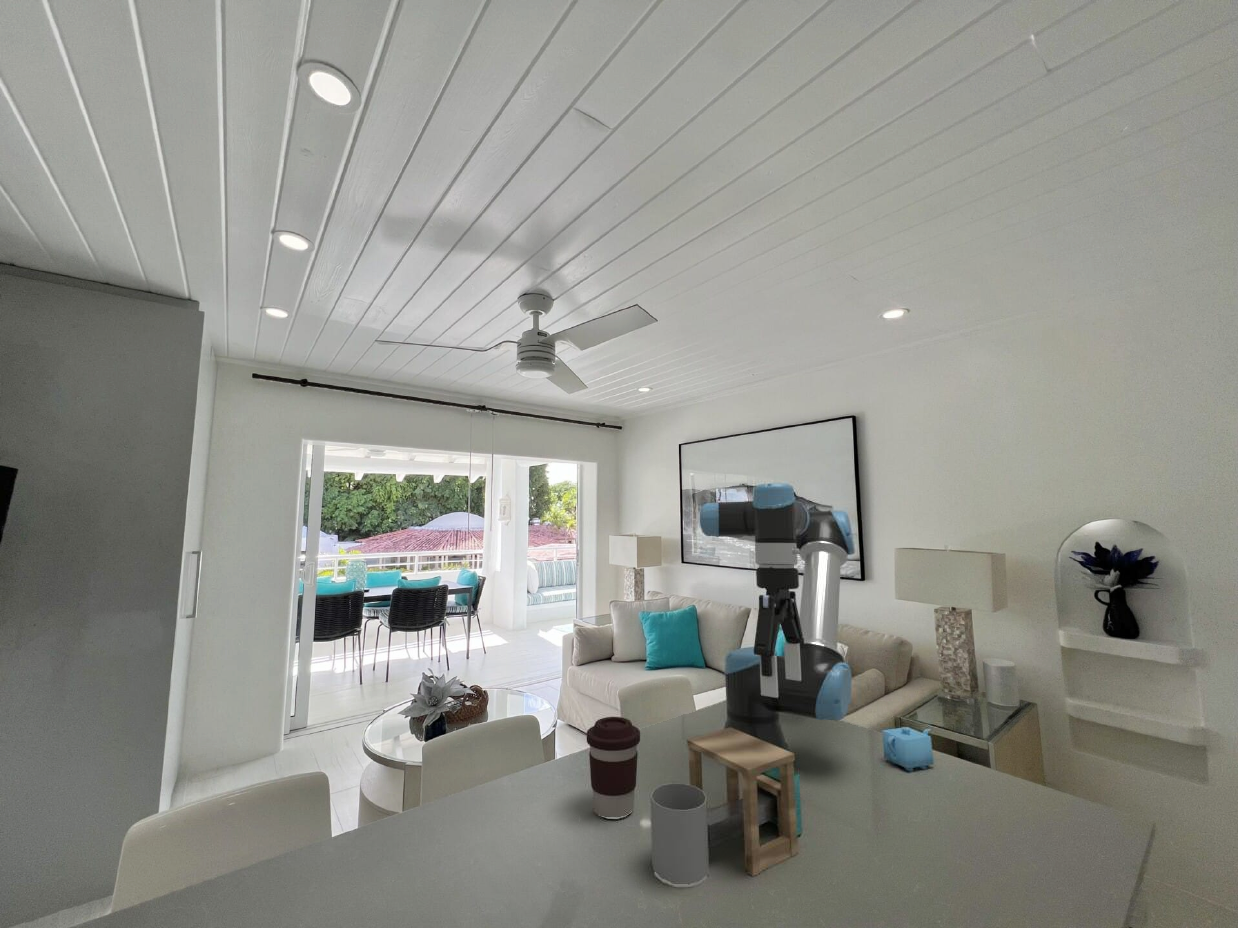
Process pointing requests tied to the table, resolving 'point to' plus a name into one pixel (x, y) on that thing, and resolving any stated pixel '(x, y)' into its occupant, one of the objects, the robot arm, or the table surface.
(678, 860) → the cup
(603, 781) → the coffee cup
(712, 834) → the grey and teal block
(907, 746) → the teapot
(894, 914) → the table surface
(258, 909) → the table surface
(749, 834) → the wooden stool
